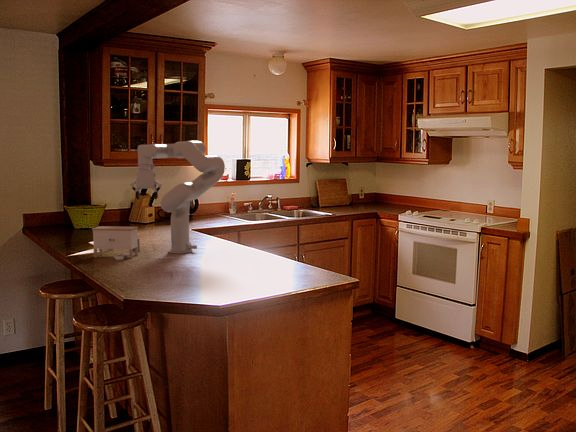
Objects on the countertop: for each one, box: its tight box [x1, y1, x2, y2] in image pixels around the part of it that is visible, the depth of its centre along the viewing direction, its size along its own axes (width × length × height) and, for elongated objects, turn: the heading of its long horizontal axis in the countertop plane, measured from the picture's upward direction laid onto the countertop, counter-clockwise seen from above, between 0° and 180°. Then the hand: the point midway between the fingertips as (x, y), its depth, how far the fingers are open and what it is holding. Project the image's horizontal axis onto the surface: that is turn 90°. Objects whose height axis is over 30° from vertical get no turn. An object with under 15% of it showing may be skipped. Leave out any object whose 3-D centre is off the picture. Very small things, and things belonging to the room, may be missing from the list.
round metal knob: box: [114, 254, 125, 262], centre depth 285 cm, size 4×4×2 cm
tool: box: [120, 238, 141, 259], centre depth 298 cm, size 4×17×7 cm, turn 173°
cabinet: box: [91, 225, 139, 259], centre depth 293 cm, size 21×10×15 cm, turn 84°
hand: (146, 199), depth 312 cm, fingers open, 9 cm apart
